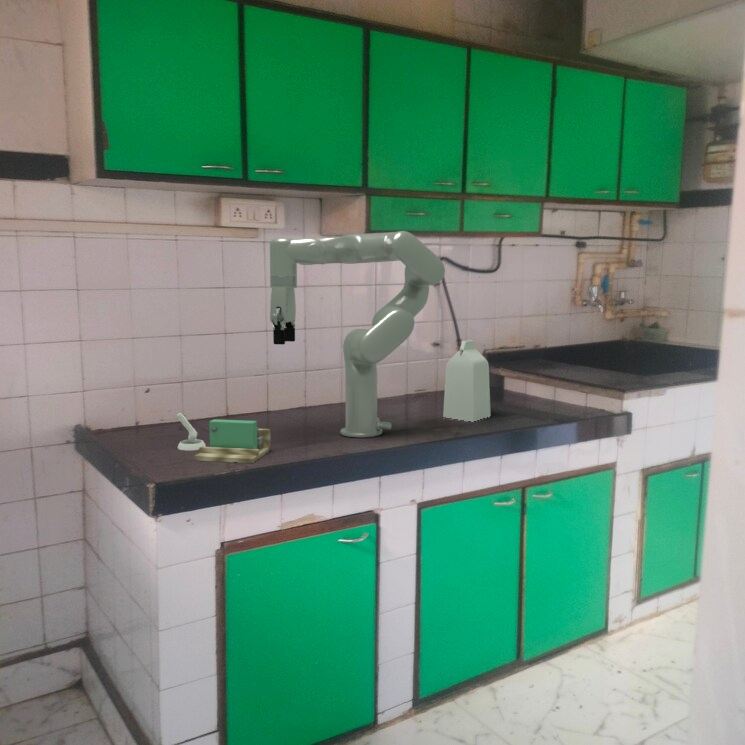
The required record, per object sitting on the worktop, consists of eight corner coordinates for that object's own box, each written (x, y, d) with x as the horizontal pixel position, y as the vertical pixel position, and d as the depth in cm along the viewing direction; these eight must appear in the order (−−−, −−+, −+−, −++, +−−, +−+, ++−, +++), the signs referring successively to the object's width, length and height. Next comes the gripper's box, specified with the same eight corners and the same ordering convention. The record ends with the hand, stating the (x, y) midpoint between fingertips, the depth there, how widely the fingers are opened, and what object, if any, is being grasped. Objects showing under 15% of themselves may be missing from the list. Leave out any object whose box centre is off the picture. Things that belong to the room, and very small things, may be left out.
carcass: (270, 450, 197) (270, 425, 196) (253, 463, 184) (252, 436, 183) (215, 448, 200) (214, 423, 199) (193, 460, 186) (193, 433, 186)
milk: (473, 422, 237) (474, 343, 233) (443, 418, 243) (444, 341, 240) (490, 416, 246) (492, 340, 243) (461, 412, 253) (462, 338, 250)
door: (257, 450, 192) (256, 420, 191) (252, 454, 188) (251, 424, 187) (214, 448, 194) (214, 419, 193) (208, 452, 190) (207, 422, 189)
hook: (158, 427, 202) (179, 412, 205) (186, 460, 204) (206, 444, 207) (161, 427, 195) (182, 410, 198) (189, 461, 197) (209, 444, 200)
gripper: (280, 282, 214) (281, 340, 216) (260, 282, 197) (262, 345, 199) (304, 282, 213) (305, 340, 215) (287, 282, 196) (288, 345, 198)
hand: (284, 342), depth 207 cm, fingers open, 9 cm apart
